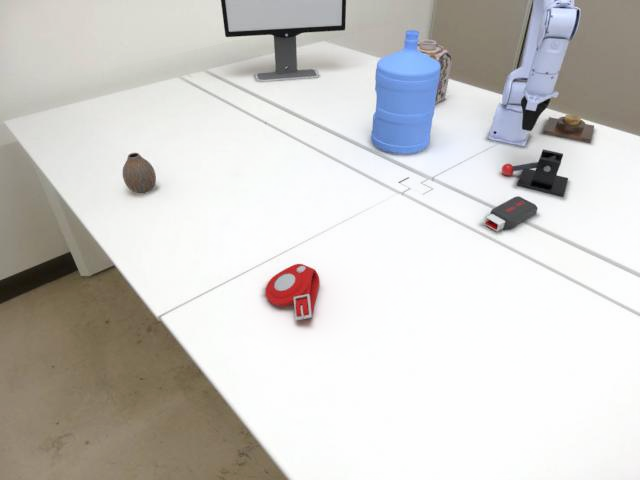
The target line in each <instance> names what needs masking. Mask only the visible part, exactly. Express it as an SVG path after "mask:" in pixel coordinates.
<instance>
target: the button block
mask: <svg viewBox="0 0 640 480" xmlns="http://www.w3.org/2000/svg"><path fill="white" fill-rule="evenodd" d="M564 118H565V116H560V117H558V118H556V117H550V116H549V117H548V118H547V121H546V124H545V127H544V129H543V131H542V135H546V136H551V137H556V138H561V139H565V140H570V141H576V142H581V143H586V144H591V141H592V139H593V135H594V134H593V133H594V129H595V125H594V124H588V123H586V122H585V121H584V120H583V119H581V120H580V123H579V125H569V124H566V123H564V122H563V121H564Z"/></svg>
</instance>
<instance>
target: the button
mask: <svg viewBox="0 0 640 480" xmlns="http://www.w3.org/2000/svg"><path fill="white" fill-rule="evenodd" d="M564 117H565V118H564V121H563V122H564V123H566V124H569V125H579V123H580V120H582V118H581V116H580V115H577V114H571V113H570V114H569V113H568V114H566V115H565V116H564Z"/></svg>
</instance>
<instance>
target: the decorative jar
mask: <svg viewBox="0 0 640 480" xmlns="http://www.w3.org/2000/svg"><path fill="white" fill-rule="evenodd" d="M417 50H418V51H420V52H422V53H423V54H425V55H427V56H429V57H431V58H433V59H435V60H436V61H438V62H439V64H440V66H441V69H440V79H439V84H438V88H437V94H436V100H435V105H437V104H439V103H440V102H442V101H444V100H445V99H446V96H447V91H448V85H449V79H450V74H451V67H452V61H453V57H452V55H451V54H450V51H449V50H448V49H447V48H446V47H444V46H442V45H439V44H437V41H436V40H433V39H422V40H420V43H418V44H417Z"/></svg>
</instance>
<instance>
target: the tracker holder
mask: <svg viewBox="0 0 640 480" xmlns="http://www.w3.org/2000/svg"><path fill="white" fill-rule="evenodd" d="M319 287H320V276H319V274H318V272H317V271H316V269H315V268H312V267H310V266H307V265H306V264H303V263H296V264H295V263H294V264H293V265H291V266H289V267H286V268H285V269H283V270H281V271H279V272H278V273H276V274H274V275H273V277H271V278H270V280H269V281H268V282H267V284H266V287H265V297H266V299H267V300H268V302H269V303H270V304H272V305H273V306H277V307H285V306H291V305H292V304H293V307H294V317H295V321H301V320H306V319H307V320H308V319H311V318H312V317H313V314H314V309H315V305H316V299H317V296H318V292H319Z"/></svg>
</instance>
